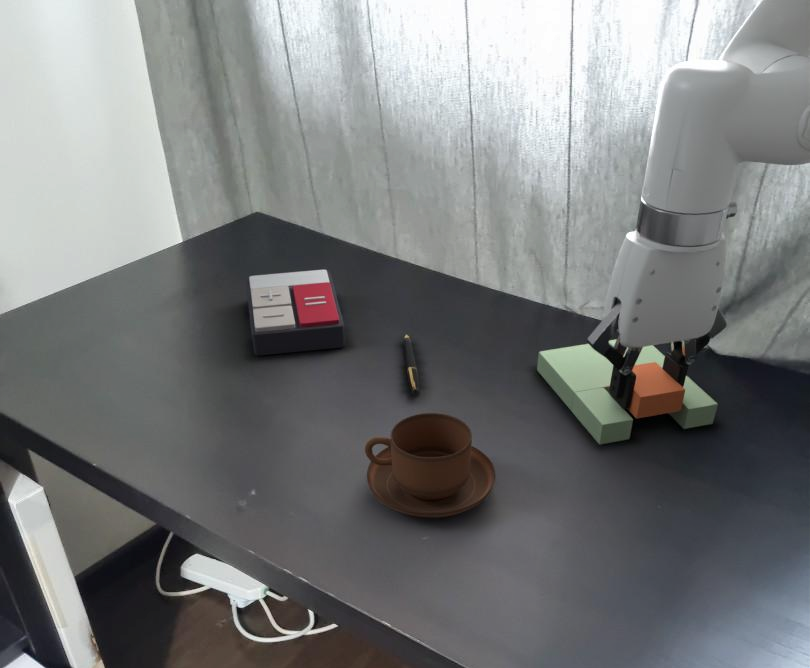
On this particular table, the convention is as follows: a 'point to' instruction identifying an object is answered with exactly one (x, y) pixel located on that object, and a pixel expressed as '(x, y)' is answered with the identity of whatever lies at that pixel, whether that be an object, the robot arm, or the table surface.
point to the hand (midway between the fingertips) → (644, 396)
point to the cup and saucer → (429, 467)
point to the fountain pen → (411, 366)
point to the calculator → (294, 312)
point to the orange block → (654, 392)
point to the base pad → (590, 398)
